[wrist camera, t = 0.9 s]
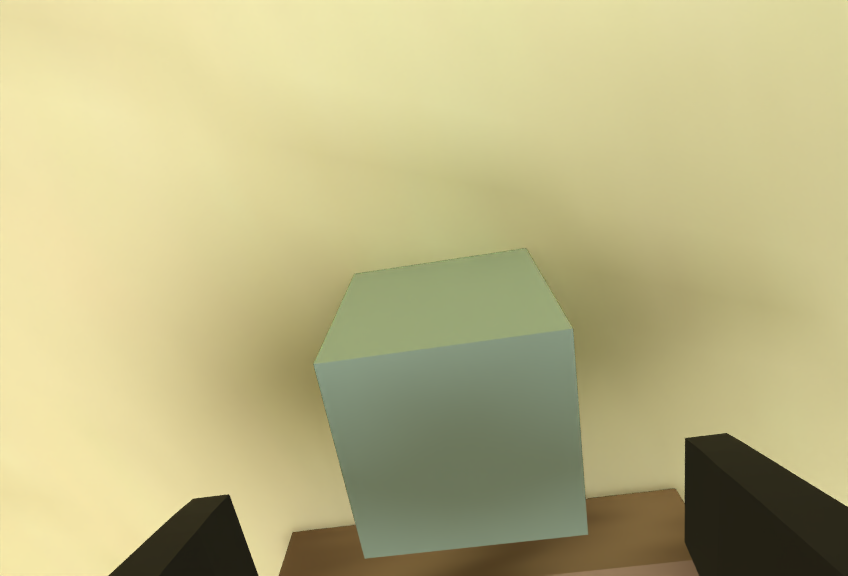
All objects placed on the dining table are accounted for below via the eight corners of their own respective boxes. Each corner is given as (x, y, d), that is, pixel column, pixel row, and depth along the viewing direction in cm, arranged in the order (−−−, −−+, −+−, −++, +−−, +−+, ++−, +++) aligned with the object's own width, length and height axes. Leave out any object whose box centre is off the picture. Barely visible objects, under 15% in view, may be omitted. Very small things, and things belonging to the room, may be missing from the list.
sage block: (525, 247, 14) (573, 329, 9) (540, 397, 15) (588, 534, 10) (354, 273, 14) (313, 364, 9) (386, 417, 15) (364, 558, 11)
